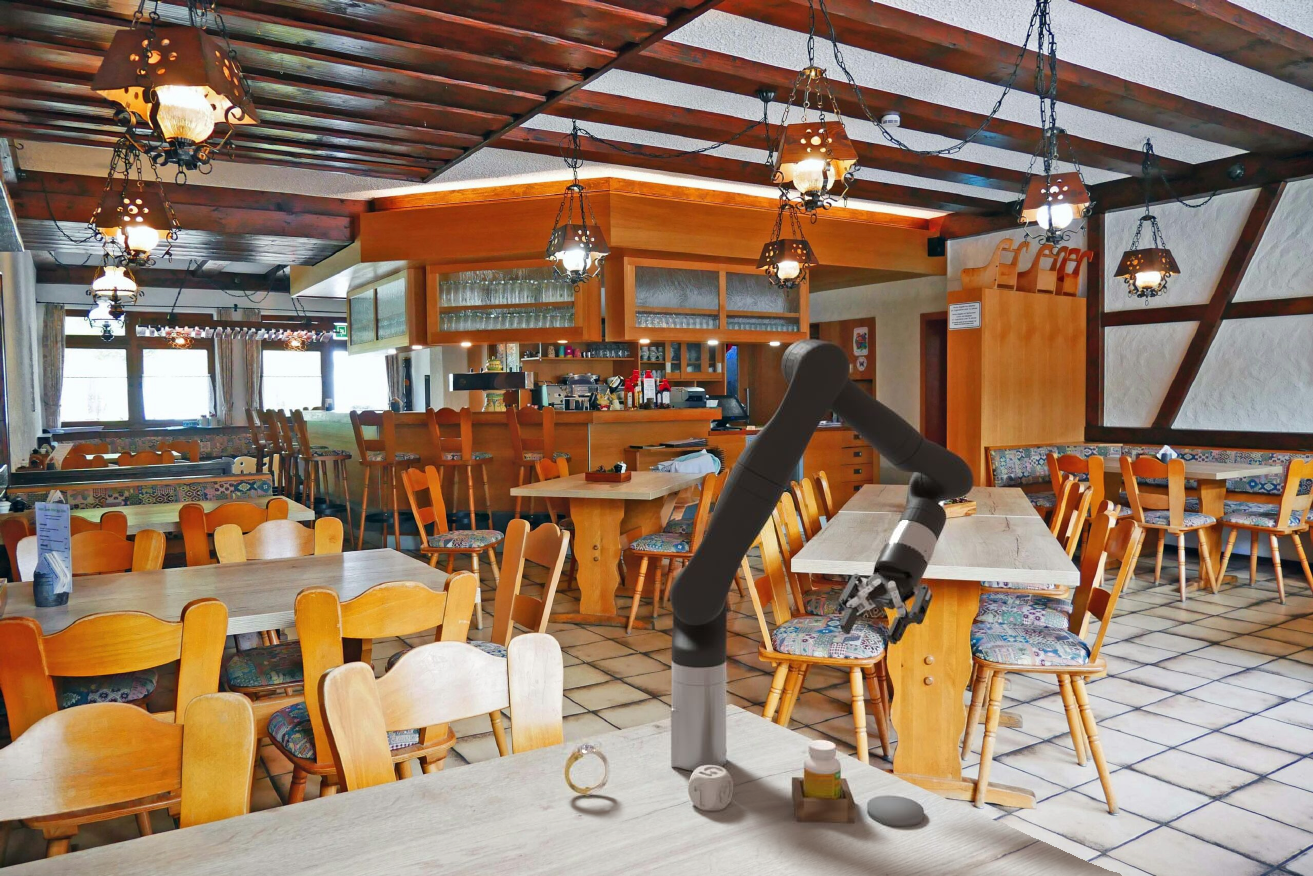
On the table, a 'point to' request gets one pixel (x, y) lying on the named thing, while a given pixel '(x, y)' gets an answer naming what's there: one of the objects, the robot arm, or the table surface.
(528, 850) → the table surface
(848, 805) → the walnut collar
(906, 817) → the rubber coaster
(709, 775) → the die
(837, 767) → the supplement bottle
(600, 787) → the ring
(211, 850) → the table surface
